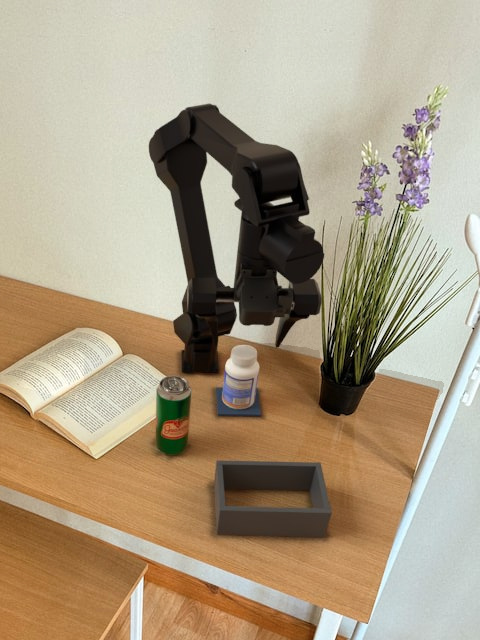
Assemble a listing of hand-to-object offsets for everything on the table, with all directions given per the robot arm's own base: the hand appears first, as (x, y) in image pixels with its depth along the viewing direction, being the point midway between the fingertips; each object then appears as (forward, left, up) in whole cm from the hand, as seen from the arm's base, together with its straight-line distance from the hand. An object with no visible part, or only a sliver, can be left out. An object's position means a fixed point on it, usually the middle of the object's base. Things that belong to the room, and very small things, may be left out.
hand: (246, 345), depth 106 cm
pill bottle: (-1, 0, -12) cm, 12 cm away
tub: (+23, +2, -12) cm, 26 cm away
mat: (-1, 0, -12) cm, 12 cm away
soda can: (+10, -11, -12) cm, 19 cm away
